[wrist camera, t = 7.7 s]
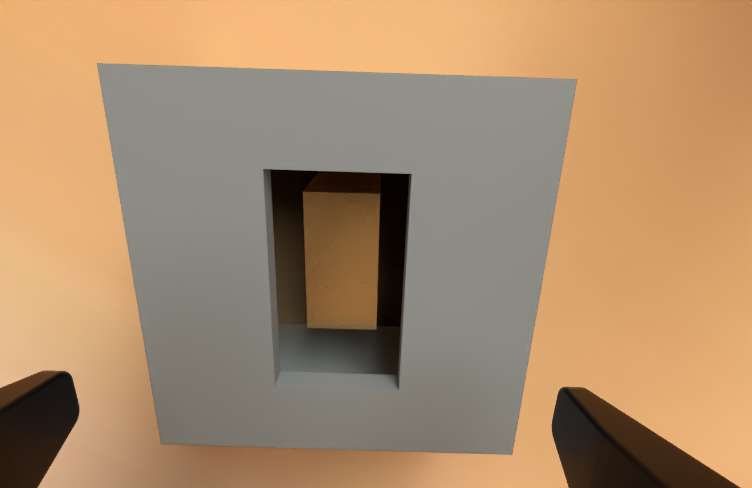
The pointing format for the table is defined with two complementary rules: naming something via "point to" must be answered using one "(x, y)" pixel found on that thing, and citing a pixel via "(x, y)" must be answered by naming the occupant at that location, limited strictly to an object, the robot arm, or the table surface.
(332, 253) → the block
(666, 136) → the table surface
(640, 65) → the table surface
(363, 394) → the box
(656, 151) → the table surface
